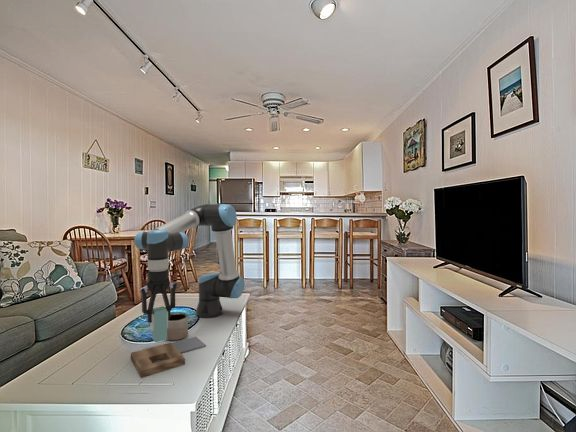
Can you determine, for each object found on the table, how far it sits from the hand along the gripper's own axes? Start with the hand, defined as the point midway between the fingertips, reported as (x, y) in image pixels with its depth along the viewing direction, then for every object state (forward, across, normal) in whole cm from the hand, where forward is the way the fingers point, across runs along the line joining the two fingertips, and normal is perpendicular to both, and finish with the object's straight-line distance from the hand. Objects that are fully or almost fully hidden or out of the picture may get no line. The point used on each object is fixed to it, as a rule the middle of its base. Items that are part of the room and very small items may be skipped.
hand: (159, 328), depth 124 cm
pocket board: (+14, 0, -3) cm, 15 cm away
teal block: (+4, 0, 0) cm, 4 cm away
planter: (+15, -14, -23) cm, 30 cm away
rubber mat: (+14, -15, -10) cm, 23 cm away
